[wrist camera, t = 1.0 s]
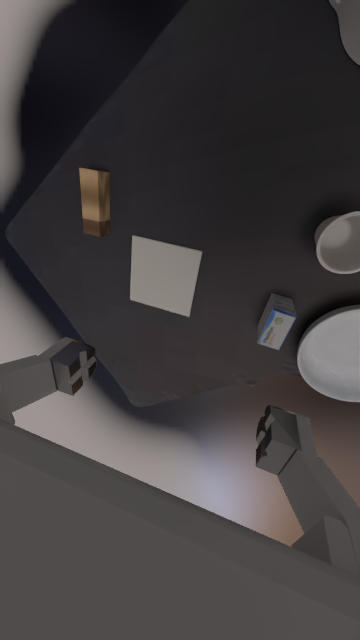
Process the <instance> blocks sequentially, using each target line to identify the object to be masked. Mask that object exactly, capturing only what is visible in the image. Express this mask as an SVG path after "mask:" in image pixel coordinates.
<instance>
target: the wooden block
mask: <svg viewBox="0 0 360 640" xmlns="http://www.w3.org/2000/svg"><path fill="white" fill-rule="evenodd" d="M79 170H80V184H81V199H82V214H83V228H84V233H87V234H91V235H95V236H99V237H100V236H104V235H108V234H110V182H109V172H103V171H98V170H92V169H85V168H79Z"/></svg>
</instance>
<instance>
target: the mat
mask: <svg viewBox="0 0 360 640" xmlns="http://www.w3.org/2000/svg"><path fill="white" fill-rule="evenodd" d="M202 252H203V251H200V250H196V249H191V248H187V247H183V246H179V245H174V244H170V243H166V242H162V241H157V240H153V239H149V238H145V237H140V236H136V235H132V261H131V287H130V300H133V301H137V302H140V303H143V304H147V305H150V306H154V307H157V308H161V309H164V310H167V311H171V312H174V313H178V314H181V315H184V316H188V317H189V316H190V311H191V306H192V301H193V296H194V291H195V286H196V281H197V276H198V271H199V267H200V262H201V257H202Z"/></svg>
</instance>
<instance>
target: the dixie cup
mask: <svg viewBox="0 0 360 640" xmlns="http://www.w3.org/2000/svg"><path fill="white" fill-rule="evenodd" d="M314 238H315V243H316V253H317V258H318V260H319V262H320V263H321V265H322V266H323V267H324V268H326V269H327V270H329V271H331V272H334V273H339V274H349V273H354V272H358V271H360V211H356V212H351V213H348V214H345V215H340V216H333V217H330V218H328V219H326V220H324V221H323V222H322V223H321V224H320V225H319V226H318V227H317V229H316V232H315V236H314Z"/></svg>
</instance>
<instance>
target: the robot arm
mask: <svg viewBox="0 0 360 640" xmlns="http://www.w3.org/2000/svg"><path fill="white" fill-rule="evenodd" d="M329 2H330V4H331V5H332V7H333V8H334V9H335V11H336V12H337V15H338V20H339V27H340V34H341V39H342V43H343V45H344V48H345V50H346V52H347V53H348V55H349V56H350V58H351V59H352V60H353V61H354V62H356V63H357V64H358V65H360V0H329ZM95 354H96V351H95V348H94V347H93V346H90V345H87V344H85V343H82V342H79V341H76V340H73V339H70V338H67V337H66V338H63V339H61V340H60V341H58V342H57V343H56V344H54V345H53V346H51V347H50V348H49V349H47V350H46V351H44V352H43V353H42V354H40V355H39V356H37V355H34V356H30V357H26V358H23V359H19V360H15V361H12V362H8V363H4V364H0V640H360V508H359V507H358V505H357V504H356V503H355V501H354V500H353V499H352V497H351V496H350V495H349V493H348V492H347V491H346V489H345V488H344V487H343V486H342V484H341V483H340V482H339V480H338V479H337V478H336V476H335V475H334V474H333V472H332V471H331V470H330V469H329V467H328V466H327V465H326V463H325V462H324V461H323V459H321V458H320V457H317V452H316V448H315V444H314V439H313V435H312V430H311V425H310V421H309V419H308V417H305V416H302V415H298V414H296V413H293V412H290V411H286V410H283V409H280V408H277V407H274V406H271V405H268V406H267V407H266V409H265V416H264V417H261V419H260V421H259V424H258V428H257V433H256V440H257V442H258V444H259V446H258V447H257V449H256V467H258V468H261V469H263V470H266V471H268V472H270V473H273V474H275V475H277V476H278V479H279V481H280V483H281V485H282V487H283V489H284V491H285V493H286V496H287V498H288V500H289V502H290V504H291V506H292V508H293V510H294V512H295V515H296V517H297V519H298V521H299V523H300V525H301V527H302V529H303V531H304V535H303V536H302V537H301V538H299V539H298V540H297V541H296V542H295V543H294V544H292V547H290V546H287V545H285V544H283V543H281V542H278V541H276V540H274V539H271V538H269V537H267V536H265V535H263V534H260V533H258V532H256V531H253V530H251V529H249V528H247V527H244V526H242V525H240V524H237V523H235V522H233V521H231V520H228V519H226V518H224V517H222V516H219V515H217V514H215V513H213V512H210V511H208V510H206V509H203V508H201V507H199V506H197V505H194V504H192V503H190V502H188V501H185V500H183V499H181V498H179V497H176V496H174V495H172V494H169V493H167V492H165V491H162V490H160V489H158V488H156V487H153V486H151V485H149V484H147V483H144V482H142V481H140V480H137V479H135V478H133V477H131V476H129V475H126V474H124V473H122V472H120V471H117V470H115V469H113V468H111V467H108V466H106V465H104V464H101V463H99V462H97V461H95V460H92V459H90V458H88V457H85V456H83V455H81V454H79V453H76V452H74V451H72V450H70V449H67V448H65V447H63V446H61V445H58V444H56V443H54V442H51V441H49V440H47V439H44V438H42V437H40V436H38V435H36V434H33V433H30V432H29V431H26V430H24V429H22V428H20V427H17V426H15V425H14V424H15V420H14V417H13V415H12V412H14V411H16V410H18V409H20V408H23V407H25V406H27V405H29V404H31V403H33V402H35V401H37V400H39V399H41V398H43V397H46V396H48V395H50V394H52V393H54V392H56V391H57V390H59V391H61V392H64V393H67V394H69V395H72V396H73V395H74V394H75V393H76V392H77V391H78V390H79V389H80V388H81V386H83V381H84V380H87V379H89V378H90V377H91V376H92V375H93V373H94V371H95V369H96V359H95V358H94V357H93V356H94V355H95Z"/></svg>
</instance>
